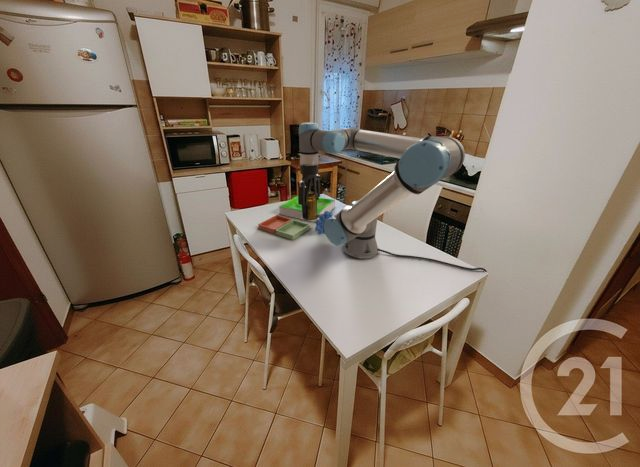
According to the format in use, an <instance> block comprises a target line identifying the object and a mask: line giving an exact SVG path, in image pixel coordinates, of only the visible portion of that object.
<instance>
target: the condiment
mask: <svg viewBox="0 0 640 467" xmlns="http://www.w3.org/2000/svg"><path fill="white" fill-rule="evenodd" d="M307 205H308V215H309V219H305V218H303V216H302V217H301V218H298V219H299V220H304V221H308V222H312V223H315V222H314V221H315V220H316V219H318V218H319V217H320V216H321V215H322V214H316V197H315V192H314V191H311V190H309V195H308V201H307Z"/></svg>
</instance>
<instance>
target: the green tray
mask: <svg viewBox="0 0 640 467" xmlns="http://www.w3.org/2000/svg"><path fill="white" fill-rule="evenodd" d="M310 229H311V224H310V223H306V222H304V221H300V220H298V219H297V220H296V219H293V220H292V221H290V222H289V223H287V224H285V225H283V226H282V227H280V228H278V229H276V230H275V231H276V233H275V235H277V236H280V237H282V238H286V239H288V240H292V241H294V240H295V239H297V238H299V237H300V236H302V235H303V234H304V233H306V232H308V231H309V230H310Z"/></svg>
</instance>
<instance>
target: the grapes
mask: <svg viewBox="0 0 640 467" xmlns="http://www.w3.org/2000/svg"><path fill="white" fill-rule="evenodd" d="M333 216H334V214H333V212H332V211H330V212H329V211H325V212H324V214H322V215H321V216H320V217H319V219H318V220H317V221H316V222H315V228H314V229H315V231H316V232H317V233H318V234H319V235H321V234H325V232H324V223H325V221H326V220H327V219H328V218H329V217H333Z"/></svg>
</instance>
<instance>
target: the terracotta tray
mask: <svg viewBox="0 0 640 467" xmlns="http://www.w3.org/2000/svg"><path fill="white" fill-rule="evenodd" d="M292 220H294V219H293V218H289V217H288V216H284V215H281V214H275V215H274V216H272V217H270V218H267V219H266V220H264V221H262V222H260V223H257V228H258V229H259V230H262V231H265V232H268V233H271V234H274V235H276V231H275V230H276V229H278V228H280V227H282V226H283V225H285V224H287V223H289V222H290V221H292Z"/></svg>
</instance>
